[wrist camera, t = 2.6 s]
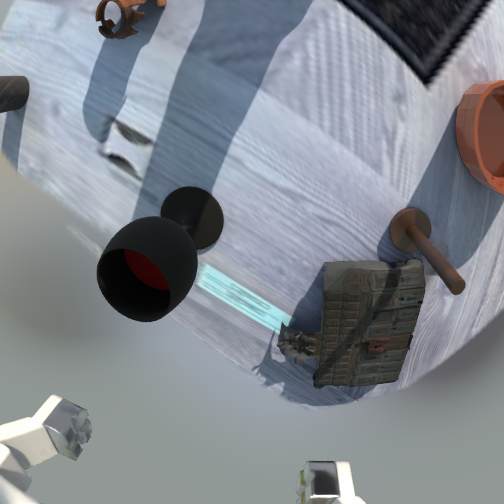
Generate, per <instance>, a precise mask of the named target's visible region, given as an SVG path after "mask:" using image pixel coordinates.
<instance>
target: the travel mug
mask: <svg viewBox="0 0 504 504" xmlns="http://www.w3.org/2000/svg"><path fill="white" fill-rule="evenodd" d="M28 94H29V82H28V80H27V78H26V77H24V76H0V113H3V112H7V111H12V110H17V109H20V108H21V107H22V106H23V105H24V104H25V102H26V100H27V98H28Z"/></svg>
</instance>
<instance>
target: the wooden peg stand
mask: <svg viewBox="0 0 504 504" xmlns="http://www.w3.org/2000/svg"><path fill="white" fill-rule="evenodd" d="M389 234H390V238H391V240H392V242H393V243H394V245H395V246H396V247H397V248H398V249H399V250H401V251H404V252H414V251H417V250H419V251H420V252H421V253H422V254H423V256H424V257H425V258H426V259H427V261H428V262H429V263H430V264H431V266H432V267H433V268H434V270H435V271H436V272H437V274H438V275H439V276H440V278H441V279H442V280H443V282H444V283H445V284H446V286H447V287H448V289H449V290H450V291H451V293H452V294H453V295H458V294H460V293H462V292H463V290H464V289H465V281H464V280H463V279H462V277H461V276H460V275H459V274H458V273H457V271H456V270H455V269H454V268H453V267H452V265H451V264H450V263H449V262H448V261H447V260H446V259H445V257H444V256H443V255H442V254H441V253H440V252H439V251H438V250H437V249H436V247H435V246H434V245H433V244H432V243H431V242H430V241H429V240H428V239H429V237H430V234H431V223H430V220H429V218H428V216H427V215H426V214H425V213H424V212H422V211H421V210H420V209H417V208H414V207H409V208H405V209H403V210H401V211H399V212H398V213H397V214H396V215H395V216H394V218H393V219H392V221H391V224H390V228H389Z"/></svg>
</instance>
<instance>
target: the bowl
mask: <svg viewBox="0 0 504 504" xmlns="http://www.w3.org/2000/svg"><path fill="white" fill-rule="evenodd" d="M455 128H456V138H457V145H458V148H459V152H460V155H461V158H462V161H463V163H464V164H465V166H466V168H467V169H468V171H469V173H470V174H471V175H472V176H473V177H474V178H475V179H476V180H477V181H478V182H479V183H480V184H482V185H484V186H486V187H488V188H490V189H492V190H494V191H496V192H498V193H500V194H503V195H504V80H495V81H483V82H480V83H477V84H474V85H472V86H471V87H470V88H469V89H468V90H467V91H466V92H465V94H464V95H463V97H462V99H461V102H460V104H459V106H458V109H457V117H456V124H455Z"/></svg>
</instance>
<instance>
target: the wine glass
mask: <svg viewBox="0 0 504 504" xmlns="http://www.w3.org/2000/svg"><path fill="white" fill-rule="evenodd" d="M223 223H224V218H223V213H222V209H221V207H220V205H219V203H218V202H217V200H216V199H215V198H214V197H213V196H212V195H211V194H210V193H208V192H206V191H205V190H202V189H200V188H196V187H183V188H179V189H177V190H175V191H173V192H172V193H171V194H170V195H168V196H167V198H166V199H165V201H164V203H163V205H162V208H161V217H156V216H154V217H145V218H140V219H137V220H135V221H133V222H131V223H129V224H128V225H126V226H125V227H123V228H122V229H121V230H120V231H119V232H117V233H116V235H115V236H114V237H113V238H112V239H111V240H110V242H109V243H108V245H107V246H106V248H105V250H104V252H103V254H102V255H101V258H100V260H99V262H98V265H97V281H98V284H99V288H100V290H101V292H102V294H103V295H104V297H105V299H106V300H107V301H108V303H109V304H110V305H111V306H112V307H113V308H114V309H115V310H117V311H118V312H119V313H121V314H122V315H124V316H126V317H128V318H130V319H132V320H136V321H140V322H152V321H156V320H158V319H161V318H162V317H164V316H165V315H167V314H168V313H169V312H171V311H172V310H173V309H174V308H175V307H176V306H177V305H179V304H180V303H181V302H182V300H183V299H184V298H185V297H186V295H187V294H188V292H189V291H190V289H191V287H192V285H193V282H194V280H195V277H196V273H197V267H198V258H197V251H196V250H198V249H203V248H206V247H208V246H210V245H212V244H213V243H214V242H215V241H216V240H217V239H218V238H219V236H220V234H221V232H222V229H223Z"/></svg>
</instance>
